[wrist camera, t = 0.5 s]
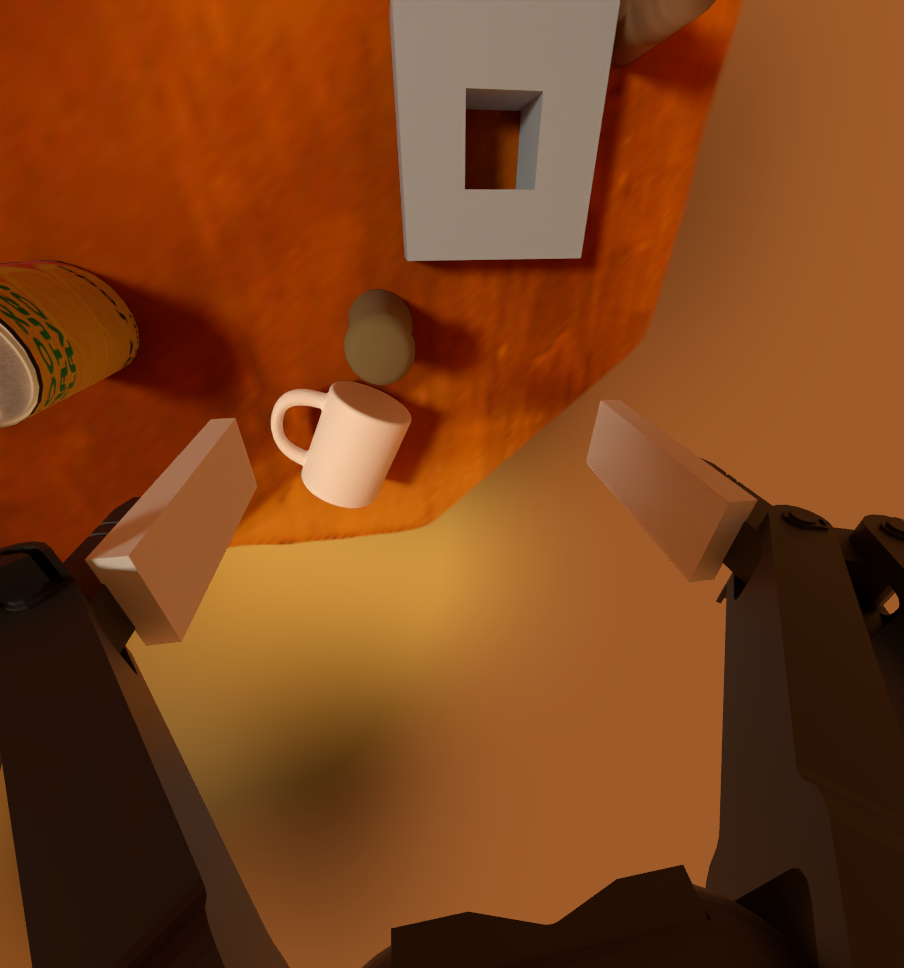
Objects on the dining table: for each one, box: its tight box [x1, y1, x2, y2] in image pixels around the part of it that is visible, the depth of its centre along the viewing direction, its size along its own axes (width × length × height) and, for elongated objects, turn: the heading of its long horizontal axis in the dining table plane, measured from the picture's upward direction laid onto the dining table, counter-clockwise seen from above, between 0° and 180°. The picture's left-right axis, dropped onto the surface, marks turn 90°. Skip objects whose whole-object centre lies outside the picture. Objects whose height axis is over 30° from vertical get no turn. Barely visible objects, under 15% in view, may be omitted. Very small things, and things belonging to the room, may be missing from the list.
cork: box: [344, 289, 415, 385], centre depth 32 cm, size 6×6×11 cm
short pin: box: [611, 0, 715, 67], centre depth 25 cm, size 4×4×8 cm
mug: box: [271, 381, 411, 508], centre depth 38 cm, size 12×10×8 cm
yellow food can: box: [0, 260, 139, 428], centre depth 28 cm, size 9×9×12 cm
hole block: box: [390, 0, 620, 261], centre depth 29 cm, size 14×14×5 cm
